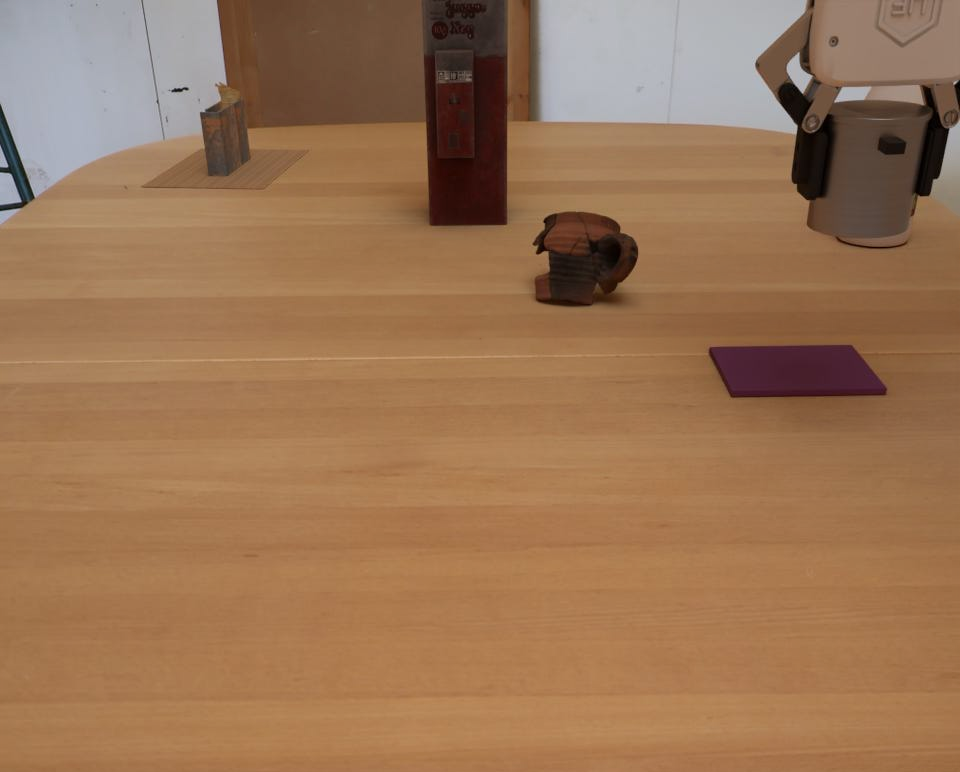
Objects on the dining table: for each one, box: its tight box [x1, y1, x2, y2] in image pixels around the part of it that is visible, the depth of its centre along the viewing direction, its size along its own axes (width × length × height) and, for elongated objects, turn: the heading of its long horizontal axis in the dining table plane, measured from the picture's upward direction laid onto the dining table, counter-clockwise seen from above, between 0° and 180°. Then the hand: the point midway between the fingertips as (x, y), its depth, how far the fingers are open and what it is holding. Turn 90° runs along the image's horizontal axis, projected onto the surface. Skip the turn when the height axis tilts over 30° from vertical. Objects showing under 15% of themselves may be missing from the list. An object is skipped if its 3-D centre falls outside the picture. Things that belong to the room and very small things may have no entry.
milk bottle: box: [837, 85, 924, 248], centre depth 117 cm, size 8×8×20 cm
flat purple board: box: [708, 344, 888, 398], centre depth 91 cm, size 12×10×1 cm
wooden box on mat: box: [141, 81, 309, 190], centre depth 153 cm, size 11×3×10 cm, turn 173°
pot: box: [806, 99, 933, 238], centre depth 74 cm, size 7×10×7 cm
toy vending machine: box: [421, 0, 509, 226], centre depth 124 cm, size 9×11×28 cm
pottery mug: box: [532, 210, 639, 306], centre depth 107 cm, size 12×10×8 cm
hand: (862, 191), depth 74 cm, fingers closed on pot, 6 cm apart
